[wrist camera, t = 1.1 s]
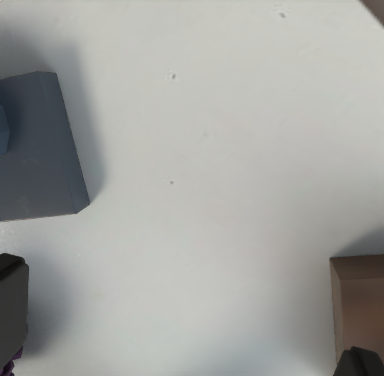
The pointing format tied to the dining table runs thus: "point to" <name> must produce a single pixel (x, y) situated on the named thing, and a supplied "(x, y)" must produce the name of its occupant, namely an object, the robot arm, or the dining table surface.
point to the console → (358, 303)
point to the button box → (37, 151)
